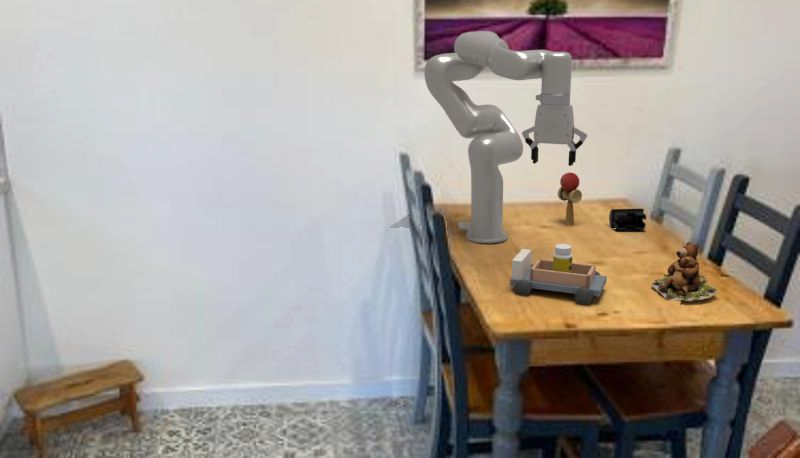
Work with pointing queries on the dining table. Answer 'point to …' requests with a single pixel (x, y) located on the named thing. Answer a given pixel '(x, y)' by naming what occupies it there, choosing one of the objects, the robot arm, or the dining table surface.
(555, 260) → the supplement bottle
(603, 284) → the toy truck
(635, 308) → the dining table surface
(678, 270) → the bear figurine
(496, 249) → the dining table surface
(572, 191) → the kendama
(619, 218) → the end cap
